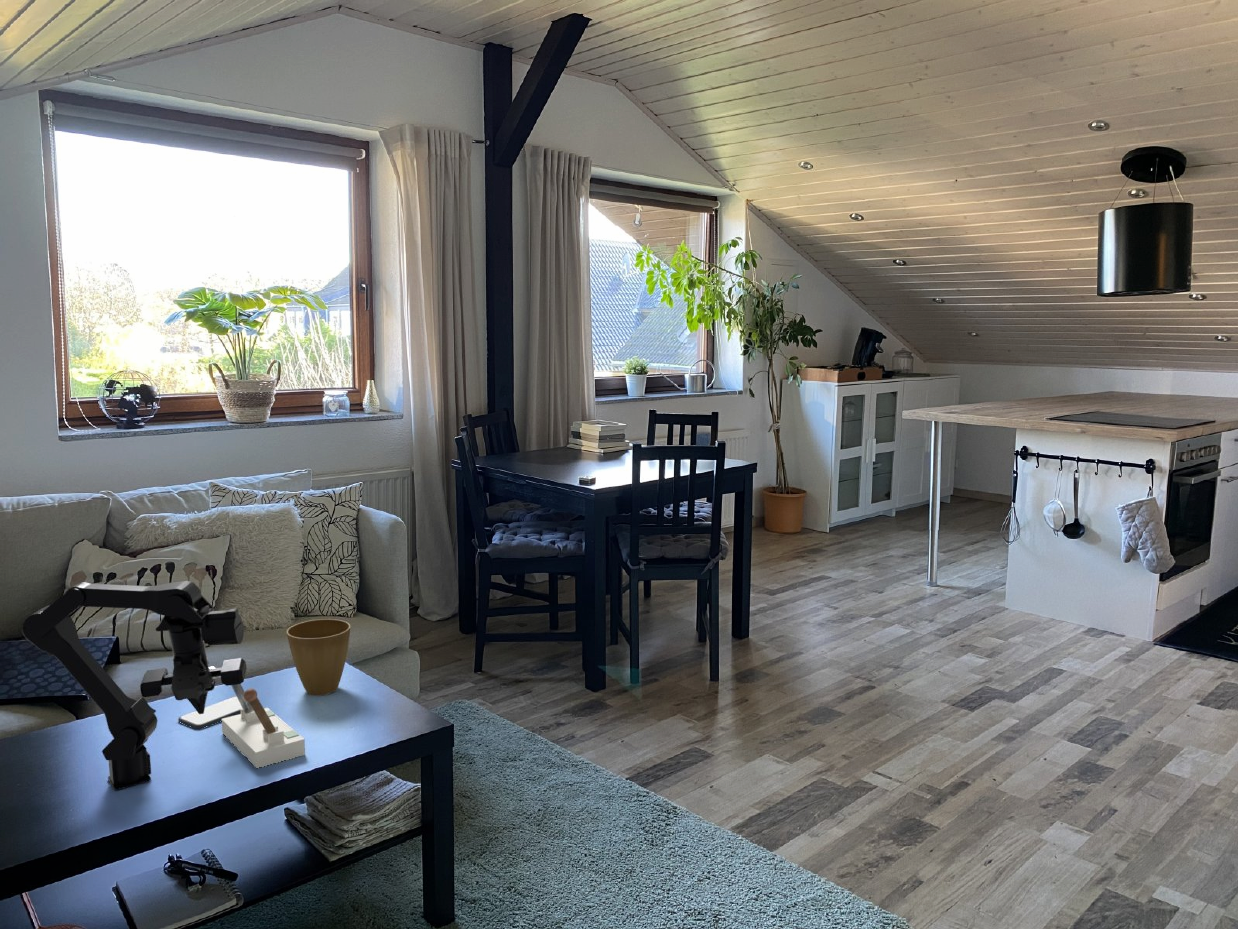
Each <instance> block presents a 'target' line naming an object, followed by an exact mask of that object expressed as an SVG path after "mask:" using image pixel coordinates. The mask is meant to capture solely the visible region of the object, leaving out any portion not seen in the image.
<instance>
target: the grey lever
mask: <svg viewBox="0 0 1238 929" xmlns="http://www.w3.org/2000/svg"><path fill="white" fill-rule="evenodd" d="M230 686H231V688H232V690H233V692H234V694H235V696H237V698H238V700H239V702H240V704H241V706H242V708H243V710H244V712H245V713H249V712H253V708H252V707H251V705H250V703H249V701H246V700H245V699H244V692H245V690H244V688H243V686H242V683H241V684H236V685H230Z"/></svg>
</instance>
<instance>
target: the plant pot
mask: <svg viewBox="0 0 1238 929" xmlns="http://www.w3.org/2000/svg"><path fill="white" fill-rule="evenodd" d="M350 634H351V624H350V623H349V622H347V621H346V620H341V619H335V618H334V619H333V618H321V619H318V618H317V619H310V620H306V621H303V622H299V623H296V624H294V625H292V626H290V627H288V628H287V629H286V636H287V637H286V638H287V642H288V645H289V649H290V650H289V651H290V654H291V657H292V661H293V664H294V667H295V669H296V672H297V675H298V678H299V679H300V681H301V684H302V686H303V688H304V690H305V692H306V694H307V695H310V696H316V697H317V696H318V697H319V696H326V695H330V694H333V693H335V692H336V691H337V690H338V688H339V685H340V682H341V678H342V676H343V672H344V669H345V664H346V660H347V657H348V656H347V655H348V650H349V643H350V642H349V641H350V636H351V635H350Z"/></svg>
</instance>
